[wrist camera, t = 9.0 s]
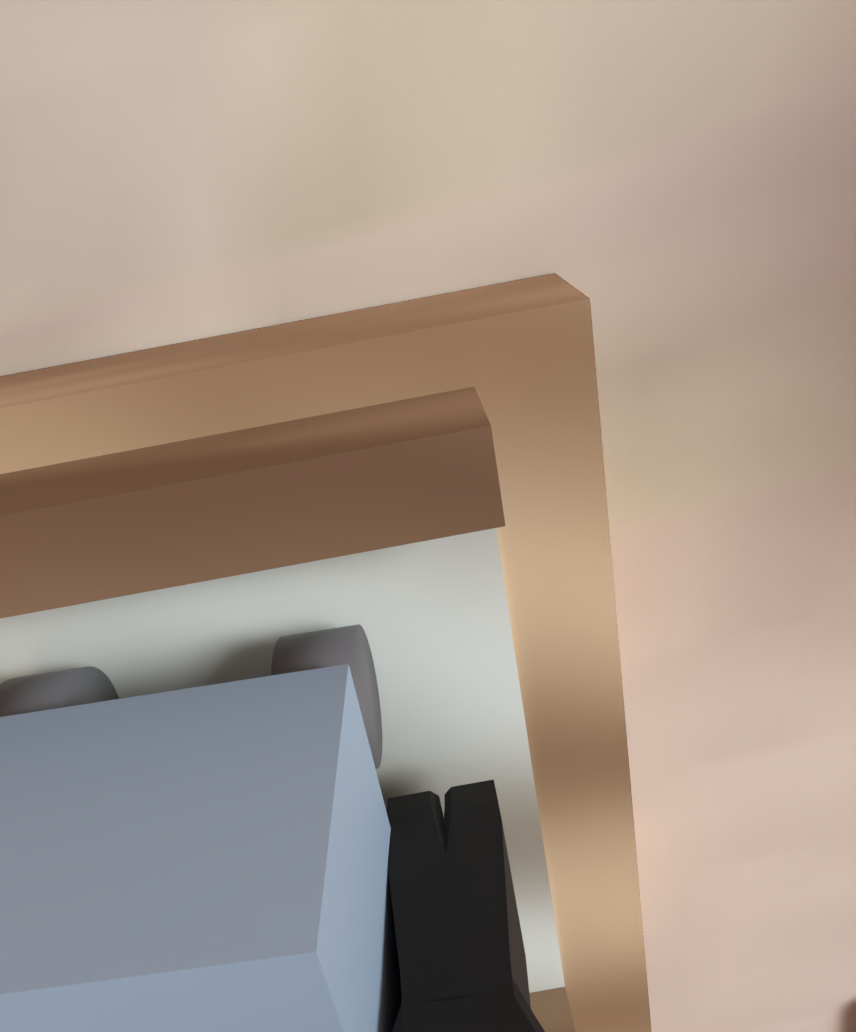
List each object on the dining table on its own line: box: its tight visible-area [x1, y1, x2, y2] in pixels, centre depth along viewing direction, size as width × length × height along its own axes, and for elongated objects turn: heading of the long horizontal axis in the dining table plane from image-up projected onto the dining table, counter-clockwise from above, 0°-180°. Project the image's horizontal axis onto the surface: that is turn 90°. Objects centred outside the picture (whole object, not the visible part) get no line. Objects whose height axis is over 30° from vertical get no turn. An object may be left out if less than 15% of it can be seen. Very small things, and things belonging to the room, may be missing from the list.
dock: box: [0, 273, 651, 1032], centre depth 13 cm, size 14×11×4 cm
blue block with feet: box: [0, 624, 402, 1032], centre depth 10 cm, size 7×5×5 cm, turn 9°
